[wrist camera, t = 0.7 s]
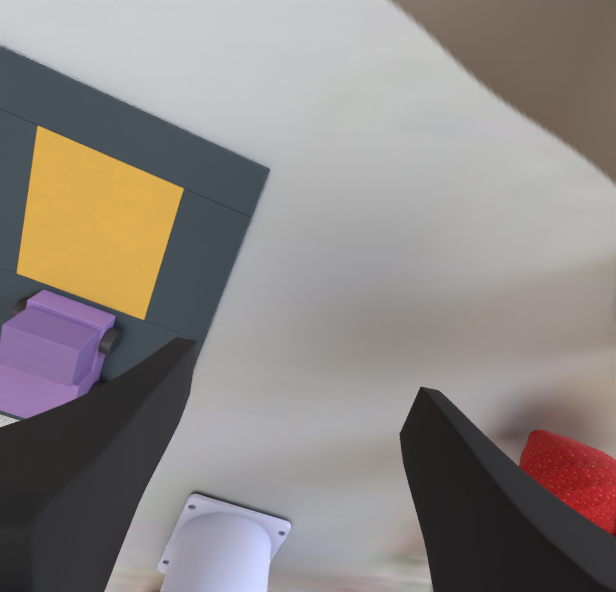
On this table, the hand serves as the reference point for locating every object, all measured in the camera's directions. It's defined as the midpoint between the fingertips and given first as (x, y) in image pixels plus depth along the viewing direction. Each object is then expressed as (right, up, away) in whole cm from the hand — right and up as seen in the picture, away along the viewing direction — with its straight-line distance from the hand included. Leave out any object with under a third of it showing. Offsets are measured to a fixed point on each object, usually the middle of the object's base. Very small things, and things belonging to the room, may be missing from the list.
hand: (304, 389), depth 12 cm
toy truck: (-14, 0, +11) cm, 17 cm away
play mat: (-12, +3, +10) cm, 16 cm away
